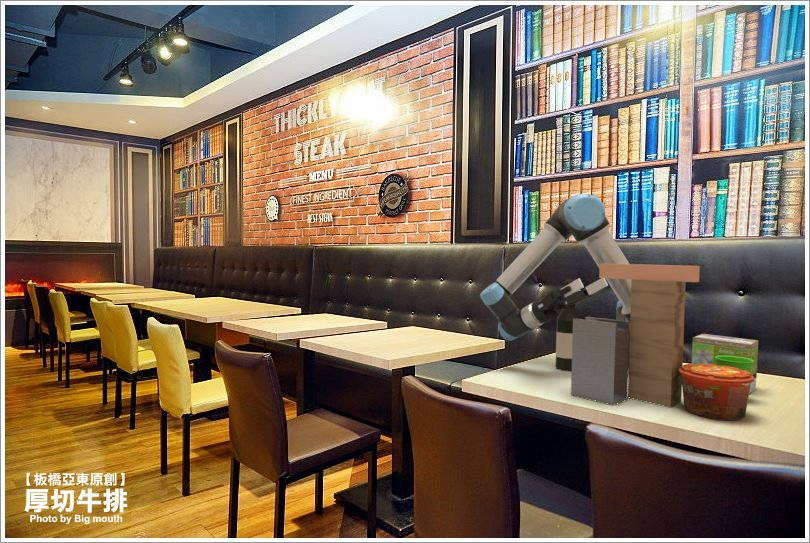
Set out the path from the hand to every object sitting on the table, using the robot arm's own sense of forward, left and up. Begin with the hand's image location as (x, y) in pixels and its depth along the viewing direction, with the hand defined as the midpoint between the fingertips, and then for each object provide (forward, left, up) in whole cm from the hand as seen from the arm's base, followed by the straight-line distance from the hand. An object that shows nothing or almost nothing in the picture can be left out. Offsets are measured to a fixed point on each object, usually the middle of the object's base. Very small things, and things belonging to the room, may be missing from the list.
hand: (593, 282), depth 148 cm
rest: (+9, +7, -31) cm, 33 cm away
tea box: (-31, +25, -31) cm, 50 cm away
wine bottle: (-16, -17, -31) cm, 39 cm away
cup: (-19, +31, -31) cm, 48 cm away
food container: (-1, +32, -31) cm, 44 cm away
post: (-1, +18, -31) cm, 35 cm away
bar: (0, +15, +1) cm, 15 cm away
